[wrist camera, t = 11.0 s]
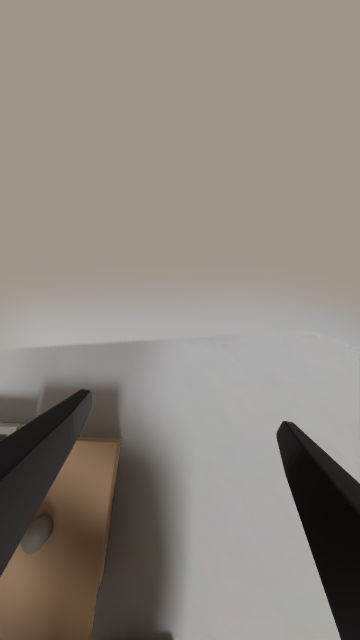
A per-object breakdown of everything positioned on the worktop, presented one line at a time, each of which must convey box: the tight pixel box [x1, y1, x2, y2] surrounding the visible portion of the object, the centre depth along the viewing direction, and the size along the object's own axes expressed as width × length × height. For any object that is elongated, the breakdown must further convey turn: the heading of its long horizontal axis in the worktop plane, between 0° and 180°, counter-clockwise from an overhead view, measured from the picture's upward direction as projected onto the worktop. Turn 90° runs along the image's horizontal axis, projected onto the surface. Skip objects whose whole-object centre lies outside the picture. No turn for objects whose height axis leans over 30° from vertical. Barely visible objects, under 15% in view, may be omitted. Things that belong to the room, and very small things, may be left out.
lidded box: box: [0, 437, 122, 640], centre depth 15 cm, size 11×9×5 cm
